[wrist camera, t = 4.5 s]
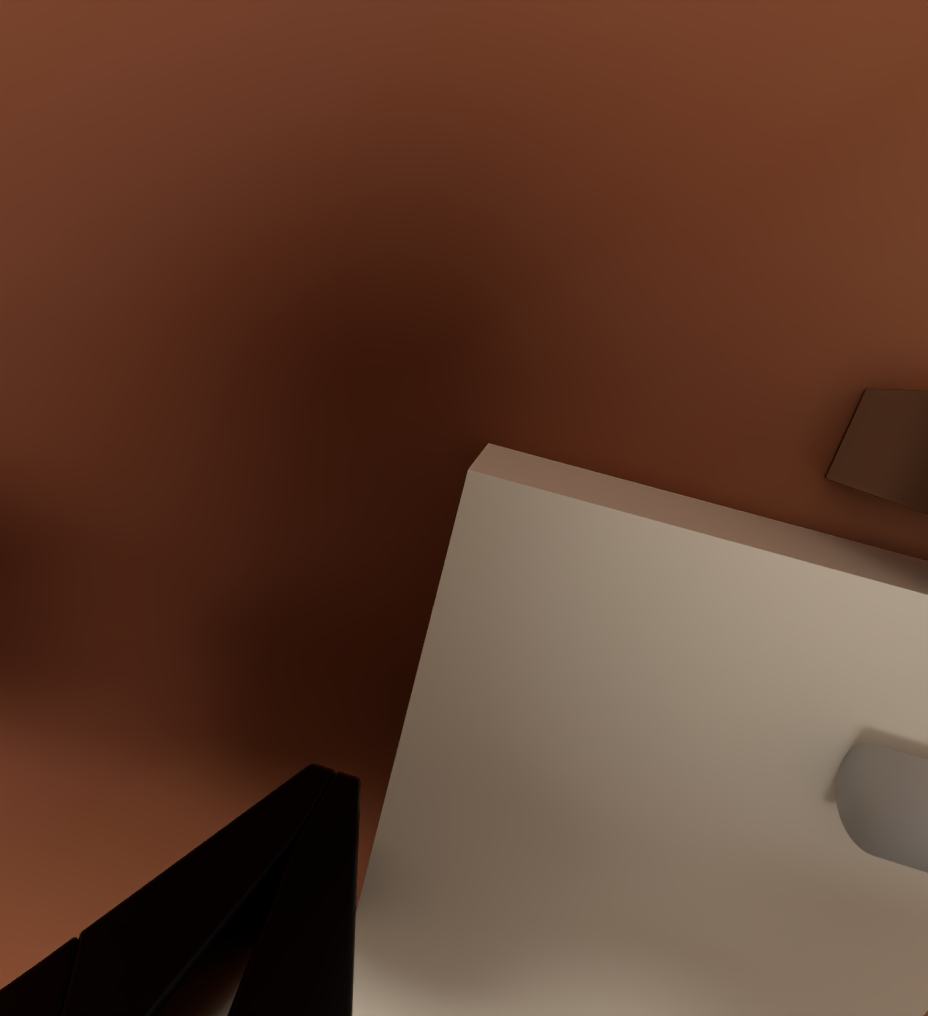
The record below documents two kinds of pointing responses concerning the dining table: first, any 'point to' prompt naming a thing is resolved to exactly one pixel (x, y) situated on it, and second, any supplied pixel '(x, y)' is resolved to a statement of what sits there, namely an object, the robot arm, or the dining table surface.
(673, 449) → the dining table surface
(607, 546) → the door panel
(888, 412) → the cabinet frame
